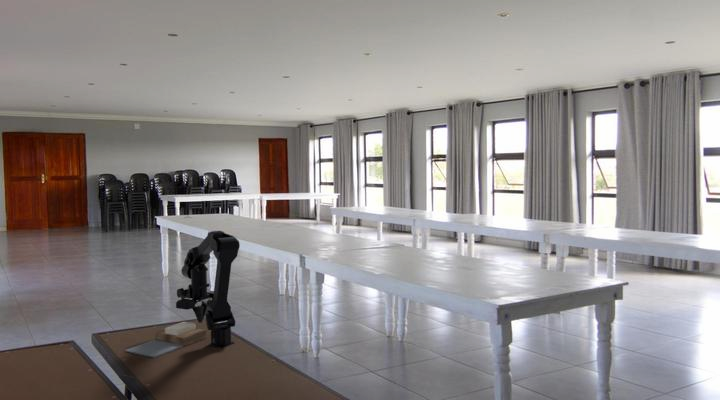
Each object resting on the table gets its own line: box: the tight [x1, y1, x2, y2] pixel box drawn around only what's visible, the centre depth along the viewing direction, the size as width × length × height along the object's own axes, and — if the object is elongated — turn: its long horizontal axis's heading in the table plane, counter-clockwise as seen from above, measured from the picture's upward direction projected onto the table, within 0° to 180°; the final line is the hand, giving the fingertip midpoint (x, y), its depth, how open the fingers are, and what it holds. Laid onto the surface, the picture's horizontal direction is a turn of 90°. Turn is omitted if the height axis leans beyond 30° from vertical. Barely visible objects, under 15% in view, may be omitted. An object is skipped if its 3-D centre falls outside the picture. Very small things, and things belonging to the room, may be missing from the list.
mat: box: [124, 339, 184, 359], centre depth 198 cm, size 14×13×1 cm
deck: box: [154, 327, 207, 347], centre depth 208 cm, size 14×11×3 cm
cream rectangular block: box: [164, 321, 197, 336], centre depth 208 cm, size 6×9×2 cm, turn 152°
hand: (200, 322), depth 217 cm, fingers closed
